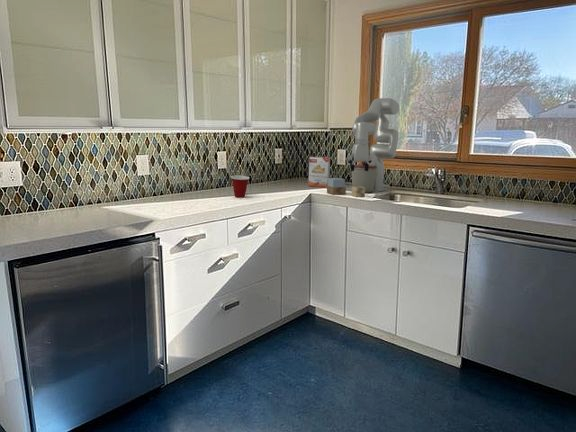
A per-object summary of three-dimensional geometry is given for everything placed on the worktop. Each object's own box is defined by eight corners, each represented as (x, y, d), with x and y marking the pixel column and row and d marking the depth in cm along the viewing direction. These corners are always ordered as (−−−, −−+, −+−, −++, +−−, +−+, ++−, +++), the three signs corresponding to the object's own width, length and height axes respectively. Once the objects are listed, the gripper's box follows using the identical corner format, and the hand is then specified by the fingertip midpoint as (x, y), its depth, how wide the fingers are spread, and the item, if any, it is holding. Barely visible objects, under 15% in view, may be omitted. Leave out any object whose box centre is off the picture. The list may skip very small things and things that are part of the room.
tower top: (339, 185, 285) (339, 177, 284) (344, 187, 277) (345, 179, 276) (327, 185, 282) (328, 178, 281) (333, 187, 275) (333, 179, 274)
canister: (369, 190, 304) (371, 159, 300) (381, 193, 287) (383, 161, 282) (344, 190, 299) (346, 159, 295) (355, 194, 282) (357, 161, 278)
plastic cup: (235, 199, 249) (236, 177, 247) (227, 196, 258) (227, 175, 255) (252, 197, 255) (252, 177, 252) (243, 195, 264) (244, 175, 261)
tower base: (339, 193, 287) (339, 185, 286) (345, 195, 278) (346, 187, 277) (326, 193, 283) (327, 185, 282) (332, 195, 275) (333, 187, 274)
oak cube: (359, 195, 277) (360, 186, 275) (364, 197, 271) (365, 187, 270) (351, 195, 275) (351, 186, 273) (355, 197, 269) (356, 187, 268)
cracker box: (308, 186, 313) (309, 156, 309) (310, 185, 319) (311, 156, 315) (327, 187, 309) (328, 157, 305) (329, 186, 315) (330, 157, 311)
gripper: (370, 143, 273) (368, 170, 276) (345, 142, 267) (343, 170, 270) (376, 143, 266) (374, 171, 269) (351, 142, 260) (349, 171, 263)
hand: (359, 171), depth 269 cm, fingers open, 9 cm apart
